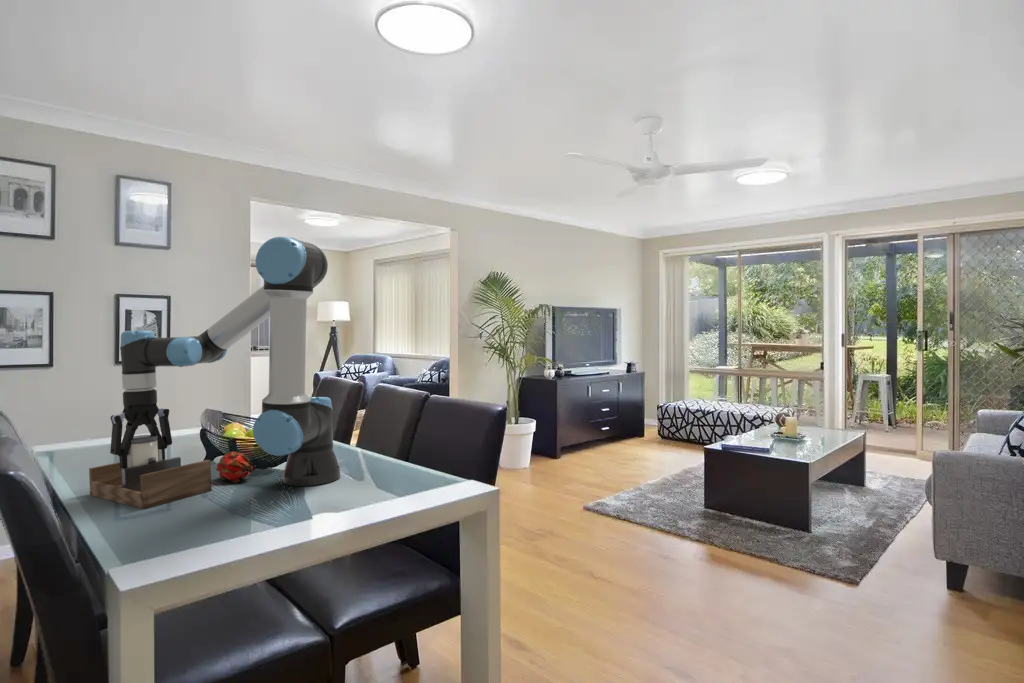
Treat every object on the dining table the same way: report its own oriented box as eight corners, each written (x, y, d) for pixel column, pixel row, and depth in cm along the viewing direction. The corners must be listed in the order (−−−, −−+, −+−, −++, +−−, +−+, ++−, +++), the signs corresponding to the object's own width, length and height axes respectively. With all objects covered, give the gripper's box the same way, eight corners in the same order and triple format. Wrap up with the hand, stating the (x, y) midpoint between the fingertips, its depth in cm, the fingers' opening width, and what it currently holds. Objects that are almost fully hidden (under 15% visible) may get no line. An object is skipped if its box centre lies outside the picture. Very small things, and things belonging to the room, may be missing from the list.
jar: (165, 480, 157) (163, 435, 156) (136, 487, 150) (134, 440, 150) (150, 477, 160) (148, 433, 160) (121, 484, 154) (119, 438, 154)
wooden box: (211, 490, 155) (210, 460, 154) (144, 509, 140) (142, 475, 140) (157, 479, 167) (156, 451, 167) (90, 495, 152) (88, 464, 152)
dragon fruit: (225, 481, 170) (249, 493, 163) (202, 469, 164) (225, 482, 157) (243, 454, 173) (267, 465, 166) (221, 442, 167) (244, 453, 160)
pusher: (181, 482, 159) (180, 452, 158) (126, 496, 146) (124, 464, 146) (178, 481, 159) (177, 452, 159) (122, 495, 147) (121, 463, 147)
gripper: (169, 385, 165) (173, 466, 166) (89, 393, 148) (94, 484, 148) (185, 386, 161) (189, 469, 162) (105, 394, 144) (109, 488, 145)
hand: (143, 476), depth 155 cm, fingers closed on jar, 7 cm apart
